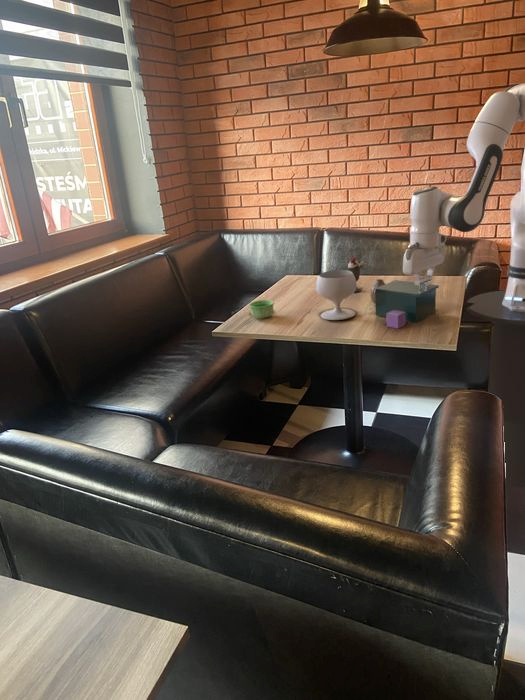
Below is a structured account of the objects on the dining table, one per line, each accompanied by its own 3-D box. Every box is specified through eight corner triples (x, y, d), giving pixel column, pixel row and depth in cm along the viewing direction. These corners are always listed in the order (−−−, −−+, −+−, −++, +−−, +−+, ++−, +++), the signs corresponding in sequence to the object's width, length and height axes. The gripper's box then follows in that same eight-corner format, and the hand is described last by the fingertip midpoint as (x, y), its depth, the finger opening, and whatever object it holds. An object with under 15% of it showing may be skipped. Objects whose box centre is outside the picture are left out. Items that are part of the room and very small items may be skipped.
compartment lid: (438, 287, 179) (439, 273, 177) (418, 296, 171) (419, 282, 169) (395, 282, 190) (395, 269, 189) (375, 290, 182) (375, 276, 181)
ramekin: (278, 311, 200) (277, 299, 199) (269, 318, 193) (268, 307, 191) (256, 310, 204) (255, 299, 202) (246, 318, 196) (245, 306, 195)
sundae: (350, 293, 215) (348, 256, 209) (344, 290, 221) (342, 254, 215) (365, 290, 216) (364, 253, 211) (358, 287, 222) (357, 251, 217)
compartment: (435, 312, 183) (436, 287, 180) (415, 322, 175) (416, 296, 172) (395, 306, 193) (395, 282, 190) (375, 315, 186) (375, 290, 182)
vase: (388, 305, 195) (387, 282, 192) (369, 305, 197) (368, 282, 194) (390, 300, 201) (390, 277, 198) (372, 300, 203) (371, 277, 200)
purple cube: (405, 324, 174) (405, 311, 172) (398, 328, 171) (398, 315, 169) (393, 322, 177) (393, 309, 175) (386, 326, 174) (386, 313, 172)
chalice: (326, 309, 198) (324, 269, 193) (363, 310, 191) (361, 269, 186) (312, 320, 187) (308, 278, 181) (350, 322, 180) (348, 279, 175)
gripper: (415, 246, 162) (415, 291, 166) (449, 235, 174) (447, 276, 179) (397, 245, 166) (397, 288, 171) (431, 234, 179) (430, 274, 184)
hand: (423, 282), depth 175 cm, fingers open, 5 cm apart
